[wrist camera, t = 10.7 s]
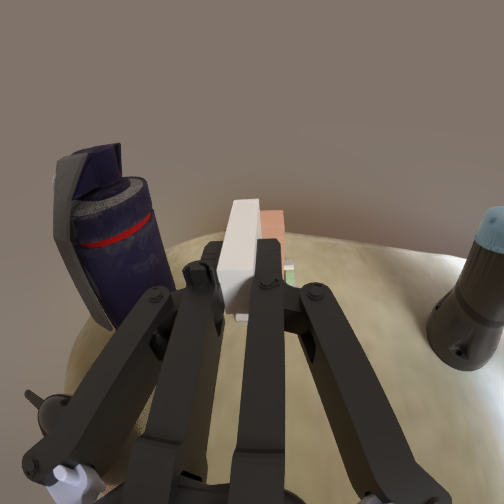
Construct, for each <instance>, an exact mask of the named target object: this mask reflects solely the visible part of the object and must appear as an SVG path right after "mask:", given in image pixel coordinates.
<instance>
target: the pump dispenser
mask: <svg viewBox="0 0 504 504" xmlns="http://www.w3.org/2000/svg"><path fill="white" fill-rule="evenodd" d="M72 396H73V395H69V394H55V395H51V396H49V397H47V398H46V399H45V400H43V399H42V398H40V397H39V396H37V395H36V394H35V393H33V392H32V391H31V390H26V391H25V397H26V398H27V399H28V400H29V401H30V402H31V403H32V404H33V405H34V406H35V407H36V408H37V409H38V424H39V427H40V430H41V432H42V434H43V436H44V437H45V436H46V435H47V434H48V433H50V432H51V431H52V429H53V428H54V426H55V424H56V423H57V421H58V419H59V417H60V416H61V414H62V412H63V411H64V409H65V407H66V406H67V404H68V403H69V401H70V399H71V398H72ZM138 436H140V433H139V431H138V430H137V428H136V427H135V426H134V427H133V429H132V430H131V432H130V434H129V436H128V438H127V440H126V442H125V444H124V446H123V448H122V449H121V451H120V453H119V455H118V457H117V459H116V460H115V462H114V464H113V465H112V467H111V468H110V469H109V471H108V472H107V473H106V474H105V475H104V476H103V477H102V478H101V480H102V481H103V482H104V483H105V485H110V486H115V485H120V484H121V483H122V482H124V481H125V479H126V474H127V469H128V464H129V459H130V455H131V451H132V446H133V444H134V441H135V440H136V438H137V437H138Z"/></svg>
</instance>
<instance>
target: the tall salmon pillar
mask: <svg viewBox="0 0 504 504" xmlns="http://www.w3.org/2000/svg"><path fill="white" fill-rule="evenodd" d="M260 221H261V234H262V239H269V238H277V240H278V241H279V242H280V244H281V260H282V277H283V279H284V270H294V265H284V218H283V210H274V211H273V210H272V211H260Z"/></svg>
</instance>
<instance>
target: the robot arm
mask: <svg viewBox="0 0 504 504" xmlns="http://www.w3.org/2000/svg"><path fill="white" fill-rule="evenodd" d="M474 238H475V240H474V242H473V246H472V248H471V250H470V253H469V256H468V258H467V260H466V263H465V265H464V267H463V270H462V272H461V274H460V276H459V279H458V281H457V283H456V285H455V286H454V287H453V288H452V289H451V290H450V291H449V292H448V293H447V294H446V295H445V296H444V297H443V298H442V299H441V300H440V301H439V302H438V303H437V304H436V305H435V307H434V308H433V310H432V312H431V314H430V316H429V318H428V321H427V335H428V339H429V342H430V344H431V346H432V348H433V350H434V351H435V353H436V354H437V355H438V356H439V357H440V358H441V359H442V360H443V361H444V362H445V363H446V364H448V365H450V366H451V367H453V368H455V369H458V370H462V371H474V370H477V369H479V368H481V367H483V366H484V365H485V364H486V363H487V362H488V360H489V359H490V358H491V357H492V356H493V354H494V352H495V350H496V348H497V345H498V343H499V340H500V337H501V335H502V332H503V329H504V207H503V206H496V207H492V208H490V209H488V210H487V211H486V212H485V214H484V216H483V218H482V221H481V224H480V226H479V229H478V231H477V232H476V233H475V236H474ZM182 272H183V275H184V278H185V281H186V284H187V285H186V287H185V288H183V289H180V290H177V291H173V292H169V290H168V289H167V288H166V287H164V286H155V287H152V288H150V289H148V290H147V291H146V292H145V293H144V294H143V295H142V297H141V298H140V299H139V301H138V302H137V303H136V305H135V306H134V307H133V309H132V310H131V311H130V313H129V314H128V315H127V317H126V318H125V319H124V321H123V322H122V324H121V325H120V326H119V328H118V329H117V331H116V332H115V333H114V335H113V336H112V338H111V339H110V340H109V342H108V343H107V345H106V346H105V348H104V349H103V350H102V352H101V353H100V355H99V356H98V358H97V359H96V361H95V362H94V364H93V365H92V367H91V368H90V370H89V371H88V373H87V374H86V376H85V377H84V379H83V380H82V382H81V383H80V385H79V387H78V388H77V390H76V391H75V393H74V395H73V396H72V398H71V399H70V401H69V403H68V404H67V406H66V407H65V409H64V411H63V412H62V414H61V416H60V417H59V419H58V421H57V423H56V424H55V426H54V428H53V429H52V431H51V432H50V433H48V434H47V435H46V436H45V437H44V438H43V439H41V440H40V441H39V442H38V443H37V444H35V445H34V446H33V447H32V448H31V449H30V450H29V451H27V452H26V453H25V455H24V456H23V459H22V468H23V471H24V474H25V475H26V477H27V478H28V479H30V480H31V481H33V482H36V483H38V484H41V485H44V486H46V488H47V490H48V491H49V493H50V495H51V496H52V497H53V499H54V501H55V502H56V504H306V503H305V502H304V501H303V500H302V499H301V498H299V497H298V496H297V495H295V494H294V493H292V492H290V491H288V490H286V489H284V476H285V342H284V331H286V332H290V333H294V334H298V338H299V341H300V344H301V346H302V349H303V352H304V354H305V357H306V360H307V363H308V365H309V368H310V371H311V373H312V376H313V379H314V382H315V384H316V387H317V390H318V393H319V395H320V398H321V401H322V404H323V406H324V409H325V412H326V415H327V418H328V420H329V423H330V426H331V429H332V432H333V434H334V437H335V440H336V443H337V446H338V449H339V452H340V454H341V457H342V460H343V463H344V466H345V469H346V472H347V475H348V477H349V480H350V482H351V484H352V487H353V488H354V490H355V492H356V493H357V495H358V497H359V498H360V499H361V501H360V502H359V503H358V504H452V498H451V496H450V494H449V493H448V492H447V491H446V490H445V489H444V488H443V487H442V486H441V485H440V484H439V483H437V482H436V481H435V480H434V479H433V478H432V477H431V476H430V475H429V474H428V473H427V472H426V471H425V470H424V469H423V468H422V467H421V466H420V465H418V464H417V463H416V462H415V459H414V457H413V455H412V452H411V450H410V447H409V445H408V443H407V441H406V438H405V436H404V434H403V431H402V429H401V427H400V425H399V422H398V420H397V418H396V416H395V414H394V412H393V409H392V407H391V405H390V403H389V401H388V399H387V397H386V395H385V393H384V390H383V388H382V386H381V384H380V382H379V380H378V378H377V376H376V374H375V372H374V370H373V368H372V366H371V364H370V362H369V360H368V358H367V356H366V354H365V352H364V350H363V349H362V347H361V345H360V343H359V341H358V339H357V337H356V335H355V333H354V331H353V330H352V328H351V326H350V324H349V322H348V320H347V318H346V317H345V315H344V313H343V311H342V309H341V307H340V306H339V304H338V302H337V300H336V298H335V297H334V295H333V293H332V291H331V290H330V289H329V287H328V286H326V285H324V284H322V283H317V282H314V283H308V284H306V285H304V286H303V287H302V288H296V287H293V286H290V285H289V284H287V283H286V282H285V281H284V279H283V277H282V260H281V244H280V242H279V241H278V240H277V238H269V239H262V234H261V221H260V208H259V199H246V200H234V203H233V207H232V210H231V214H230V218H229V222H228V226H227V230H226V234H225V238H224V241H210V242H209V243H208V244H207V245H206V246H205V247H204V250H203V253H202V256H201V260H199V261H193V262H191V263H189V264H187V265H186V266H185V267H184V268H183V270H182ZM224 308H225V311H226V314H249V315H248V326H247V337H246V348H245V359H244V370H243V381H242V392H241V403H240V414H239V425H238V436H237V445H236V449H235V451H234V453H233V457H232V465H231V475H230V483H226V484H218V485H208V484H206V480H207V471H208V464H207V459H206V452H207V444H208V436H209V429H210V422H211V414H212V407H213V400H214V393H215V386H216V379H217V372H218V365H219V359H220V352H221V345H222V339H223V332H224V326H225V319H224V315H223V314H224ZM156 384H157V385H156ZM155 386H156V389H155V393H154V397H153V400H152V404H151V408H150V412H149V416H148V421H147V425H146V429H145V432H144V433H143V434H142V435H140V436H138V437H137V438H136V440H135V441H134V444H133V446H132V451H131V455H130V459H129V464H128V469H127V474H126V479H125V481H124V482H122V483H121V484H120V485H118V486H117V487H116V488H114V489H113V490H112V491H110V492H109V493H107V494H106V495H105V496H103V497H102V498H101V499H99V500H97V497H98V495H99V493H100V492H103V491H104V490H105V488H106V487H105V483H104V482H103V481H102V480H101V478H102V477H103V476H104V475H105V474H106V473H107V472H108V471H109V469H110V468H111V467H112V465H113V464H114V462H115V460H116V459H117V457H118V455H119V453H120V451H121V449H122V448H123V446H124V444H125V442H126V440H127V438H128V436H129V434H130V432H131V430H132V429H133V427H134V425H135V423H136V421H137V419H138V417H139V416H140V414H141V412H142V410H143V408H144V406H145V404H146V403H147V401H148V399H149V397H150V395H151V393H152V392H153V390H154V388H155ZM96 500H97V501H96Z"/></svg>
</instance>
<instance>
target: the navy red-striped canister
mask: <svg viewBox="0 0 504 504" xmlns="http://www.w3.org/2000/svg"><path fill="white" fill-rule="evenodd" d="M54 181H55V189H54ZM52 190H53V192H54V210H53V237H54V240H55V242H56V245H57V247H58V250H59V252H60V254H61V256H62V259H63V261H64V263H65V265H66V267H67V270H68V272H69V274H70V276H71V278H72V280H73V282H74V284H75V286H76V288H77V290H78V292H79V293H80V295H81V297H82V299H83V301H84V303H85V305H86V306H87V308H88V310H89V312H90V314H91V315H92V317H93V319H94V320H95V322H96V323H98V324H99V325H101V326H102V327H104V328H106V329H107V330H109V331H112V329H113V328H112V326H111V324H110V322H109V321H108V319H107V317H108V318H109V320H110V321H111V323H112V325H113V326H114V328H115V330H116V331H117V329H118V328H119V326H120V325H121V324H122V322H123V321H124V319H125V318H126V317H127V315H128V314H129V313H130V311H131V310H132V309H133V307H134V306H135V305H136V303H137V302H138V301H139V299H140V298H141V297H142V295H143V294H144V293H145V292H146V291H147V290H148V289H150V288H152V287H155V286H164V287H166V288H167V289H168V290H169V292H173V291H177V290H176V287H175V283H174V280H173V277H172V274H171V271H170V267H169V264H168V261H167V257H166V254H165V251H164V247H163V244H162V240H161V237H160V233H159V229H158V225H157V222H156V218H155V214H154V210H153V209H152V202H151V198H150V193H149V189H148V185H147V181H146V180H145V179H143V178H141V177H122V165H121V144H120V143H114V144H107V145H101V146H95V147H92V148H87V149H82V150H79V151H77V152H74V153H73V154H71V155H70V156H65V157H63V158H61V159H60V160H58V161H57V166H56V174H55V176H54V177H53V181H52ZM95 295H96V296H95ZM96 297H97V298H96ZM97 299H98V300H97ZM98 301H99V302H98ZM99 303H100V304H99ZM100 305H101V306H102V308H103V310H104V311H103V310H102V308H101V306H100ZM104 312H105V313H106V315H107V317H106V315H105V313H104Z"/></svg>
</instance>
